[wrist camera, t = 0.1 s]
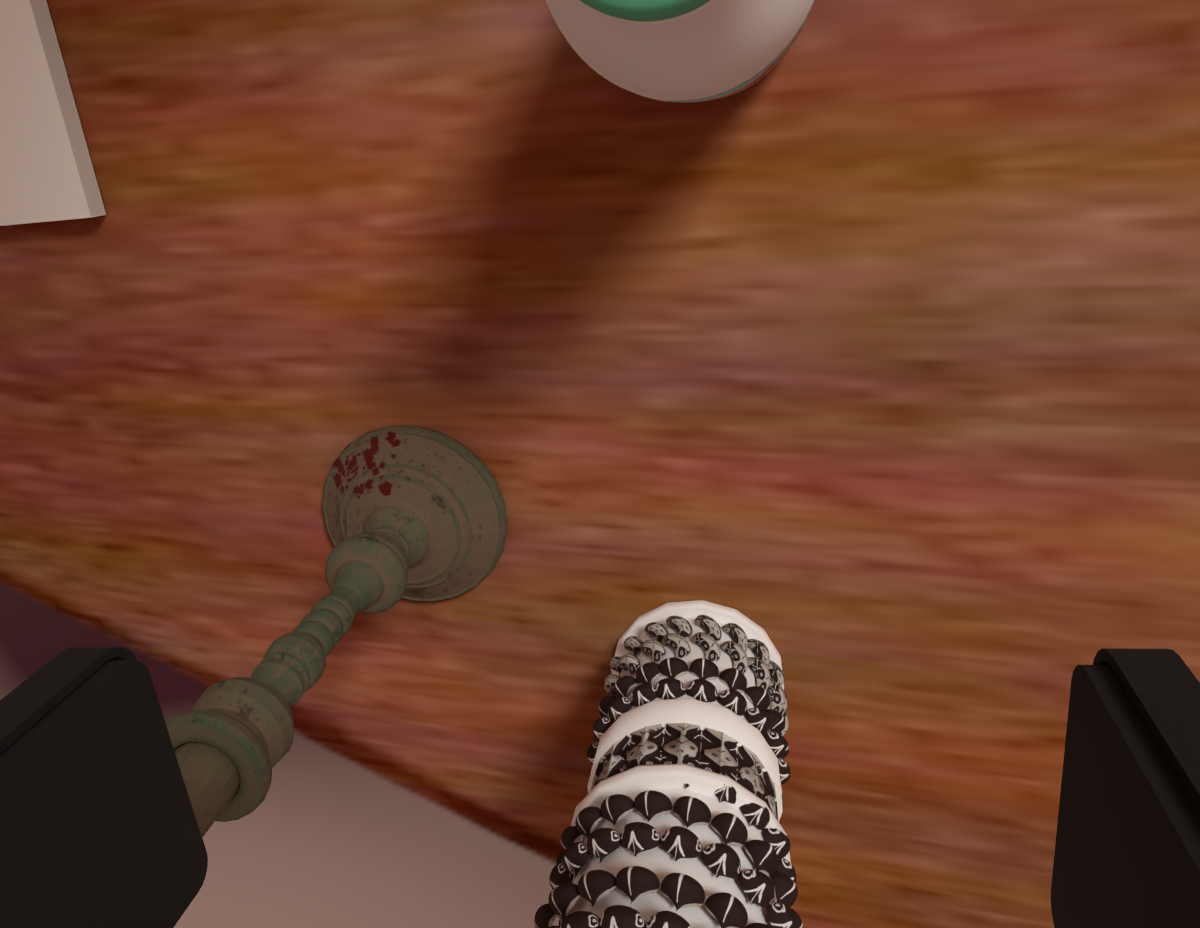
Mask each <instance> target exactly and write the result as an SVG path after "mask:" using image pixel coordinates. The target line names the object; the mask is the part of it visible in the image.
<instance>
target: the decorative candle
mask: <svg viewBox="0 0 1200 928" xmlns="http://www.w3.org/2000/svg"><path fill="white" fill-rule="evenodd" d="M610 667H611V673H612V675H608V676H607V677H606V679H605V684H604V688H605V690H606V692H608V693H609V694H611V695H613V696H607V697H604V698H603V699H602V700H601V702H600V703H599V712H600V715H601V717H602V718H599V719H597V720H596V722H595V724H594V726H593V735H594V738H595V740H596V741H597V742H595V743H593V744H592V745H591V746H590V747H589V748H588V750H587V757H588V760H589V762H590V763H591V764H592V765H593V766H592V770H591V774H590V778H589V782H588V786H587V789H588V793H589V794H588V795H587V796H586V797H585V798H584V799H583V800H582V801H581V802H580V803H579V804H578V805H577V806H576V808H575V811H574V815H573V819H572V822H571V826H570V827H567V828H566V829H565V830H564V831H563V833H562V836H561V846H562V848H563V850H564V851H563V852H562V853H560V854H559V855H558V857H557V865H556V866H555V867H554V868H553V869H552V872H551V874H550V884H551V887H552V889H553V890H552V891H551V892H550V895H549V904H545V905H542V906H541V907H540V908H539V909H538V910H537V912H536V915H535V920H534V922H535V927H536V928H803V925H802V921H801V918H800V917H799V915H798V914H797V913H796V912H795V911H794V910H793V909H791V908H790V907H791V906H792V905H793V904H794V902H795V901H796V898H797V894H798V890H797V886H796V884H795V883H796V873H795V869H794V867H793V866H792V864H791V860H790V852H789V850H790V841H789V839H788V837H787V834H786V832H785V831H784V829H783V828H782V826H781V825H780V823H779V820H780V817H781V815H782V799H783V792H782V788H781V785H782V784H784V783H786V782H787V781H788V780H789V778H790V769H789V766H788V764H787V763H786V762H785V761H784V760H783V758H785V757H786V756H787V755H788V752H789V747H788V743H787V741H786V740H785V738H784V737H782V736H783V735H784V734H785V733H786V731H787V730H788V726H789V721H788V716H787V713H786V711H785V710H786V708H787V697H786V694H785V691H784V675H783V672H782V664H781V656H780V654H779V652H778V651H777V649H776V648H775V646H774V645H773V643H772V641H771V640H770V638H769V637H768V635H767V633H766V632H765V630H764V629H763V628H762V627H760V626H759V625H758V624H756V623H755V622H753V621H752V620H751V619H749V618H748V617H746V616H745V615H743V614H742V613H741V612H739V611H738V610H736V609H734V608H730V607H726V606H723V605H719V604H715V603H712V602H708V601H705V600H693V601H679V602H667V603H665V604H663V605H661V606H659V607H657V608H655V609H653V610H650V611H648V612H646V613H644V614H642V615H640V616H638V617H637V618H636V620H635V621H634V622H633V623H632V624H631V625H630V626H629V628H628V629H627V630H626V631H625V632H624V633H623V634H622V636H621V637H620V638H619V640H618V644H617V648H616V651H615V655H614V657H612V658H611V660H610ZM556 916H557V917H559V918H560V920H559V926H552V924H553V921H554V919H555V918H556Z"/></svg>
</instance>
